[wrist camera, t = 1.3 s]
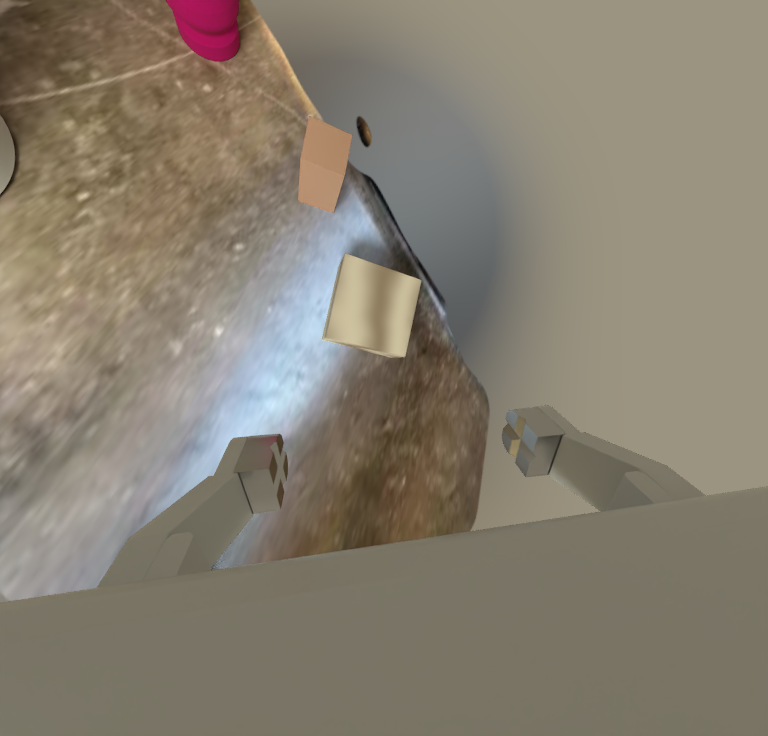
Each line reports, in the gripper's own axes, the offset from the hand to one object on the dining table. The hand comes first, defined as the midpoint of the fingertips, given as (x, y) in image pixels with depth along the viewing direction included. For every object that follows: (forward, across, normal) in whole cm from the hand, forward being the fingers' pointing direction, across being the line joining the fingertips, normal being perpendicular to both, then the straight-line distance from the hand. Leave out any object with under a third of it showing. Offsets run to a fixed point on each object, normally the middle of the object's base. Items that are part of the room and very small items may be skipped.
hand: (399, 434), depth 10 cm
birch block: (+31, -1, +5) cm, 31 cm away
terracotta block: (+37, +4, -10) cm, 38 cm away
